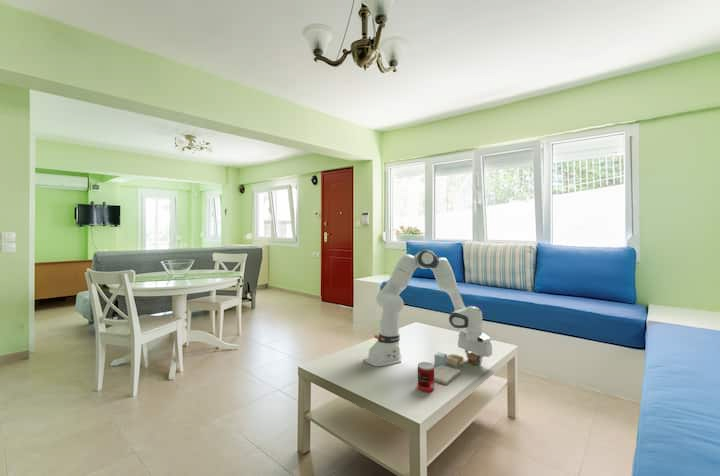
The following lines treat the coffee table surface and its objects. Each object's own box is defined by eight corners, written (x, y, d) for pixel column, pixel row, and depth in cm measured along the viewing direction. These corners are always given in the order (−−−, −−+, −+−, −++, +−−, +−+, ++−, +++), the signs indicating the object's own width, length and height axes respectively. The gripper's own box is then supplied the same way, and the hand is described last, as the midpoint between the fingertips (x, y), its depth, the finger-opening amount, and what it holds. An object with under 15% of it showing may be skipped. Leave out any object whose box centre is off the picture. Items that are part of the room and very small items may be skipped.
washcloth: (461, 374, 167) (461, 368, 167) (447, 387, 153) (447, 380, 153) (440, 368, 174) (440, 362, 174) (424, 380, 160) (424, 373, 160)
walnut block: (475, 365, 177) (475, 356, 177) (467, 362, 181) (467, 353, 181) (480, 363, 180) (480, 354, 180) (473, 360, 184) (473, 351, 184)
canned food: (431, 384, 154) (431, 361, 154) (436, 392, 146) (436, 368, 146) (416, 384, 154) (416, 361, 154) (419, 392, 146) (419, 368, 146)
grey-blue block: (442, 367, 174) (442, 356, 174) (434, 365, 177) (434, 354, 177) (446, 364, 178) (446, 354, 178) (438, 362, 181) (438, 352, 181)
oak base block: (456, 367, 175) (456, 360, 175) (445, 363, 180) (445, 356, 180) (463, 364, 179) (463, 357, 179) (452, 360, 185) (452, 353, 185)
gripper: (455, 331, 187) (455, 355, 187) (487, 341, 171) (487, 366, 171) (462, 330, 191) (462, 353, 191) (493, 338, 174) (493, 364, 174)
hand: (474, 359), depth 181 cm, fingers open, 6 cm apart
